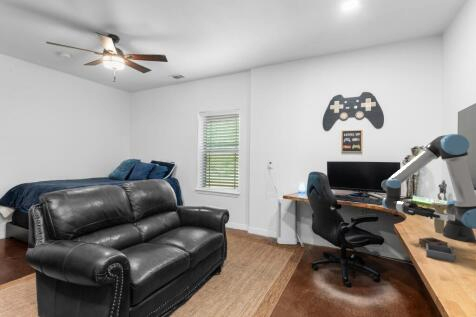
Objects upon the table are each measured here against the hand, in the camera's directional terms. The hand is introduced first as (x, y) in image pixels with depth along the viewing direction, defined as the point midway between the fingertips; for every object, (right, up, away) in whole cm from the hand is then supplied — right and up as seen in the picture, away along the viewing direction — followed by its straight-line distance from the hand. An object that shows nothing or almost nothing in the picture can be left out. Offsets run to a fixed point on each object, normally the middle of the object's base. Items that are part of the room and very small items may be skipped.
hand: (450, 218), depth 116 cm
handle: (-1, -9, +5) cm, 11 cm away
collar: (+6, -20, +18) cm, 28 cm away
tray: (-1, -21, +6) cm, 21 cm away
